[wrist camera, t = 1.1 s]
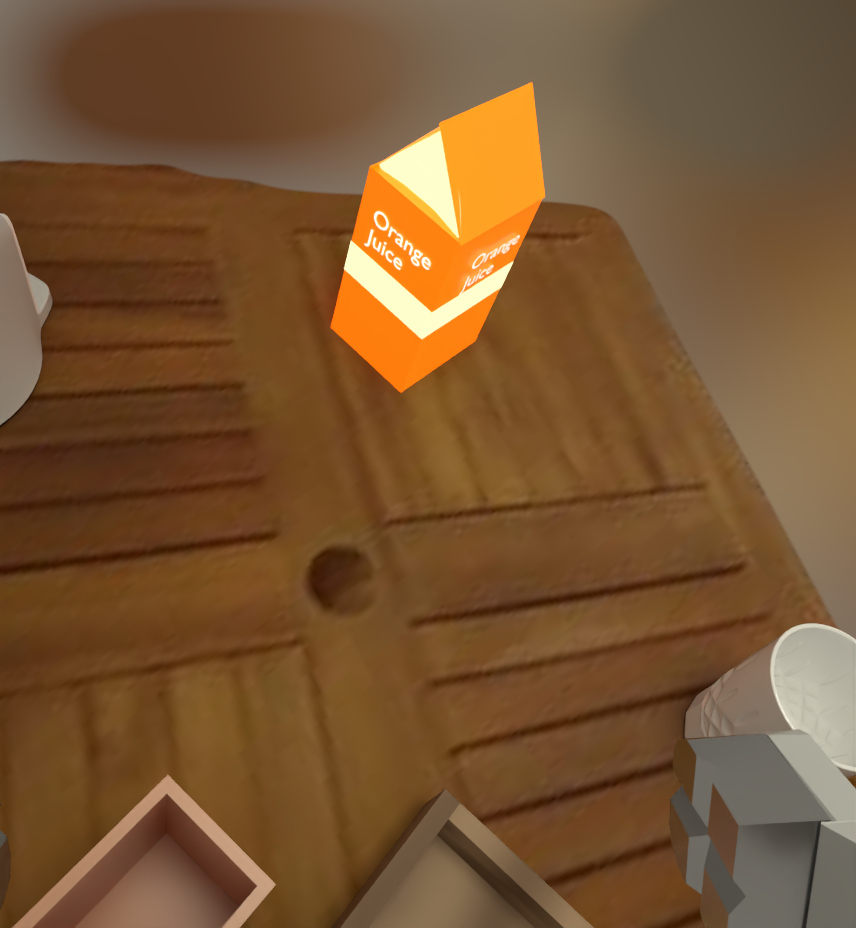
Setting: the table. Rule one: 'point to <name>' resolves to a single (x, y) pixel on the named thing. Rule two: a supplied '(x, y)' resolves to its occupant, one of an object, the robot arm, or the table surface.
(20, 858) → the table surface
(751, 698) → the white cup
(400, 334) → the orange juice
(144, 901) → the pink square pot
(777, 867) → the robot arm
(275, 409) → the table surface
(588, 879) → the table surface
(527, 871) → the large crate
